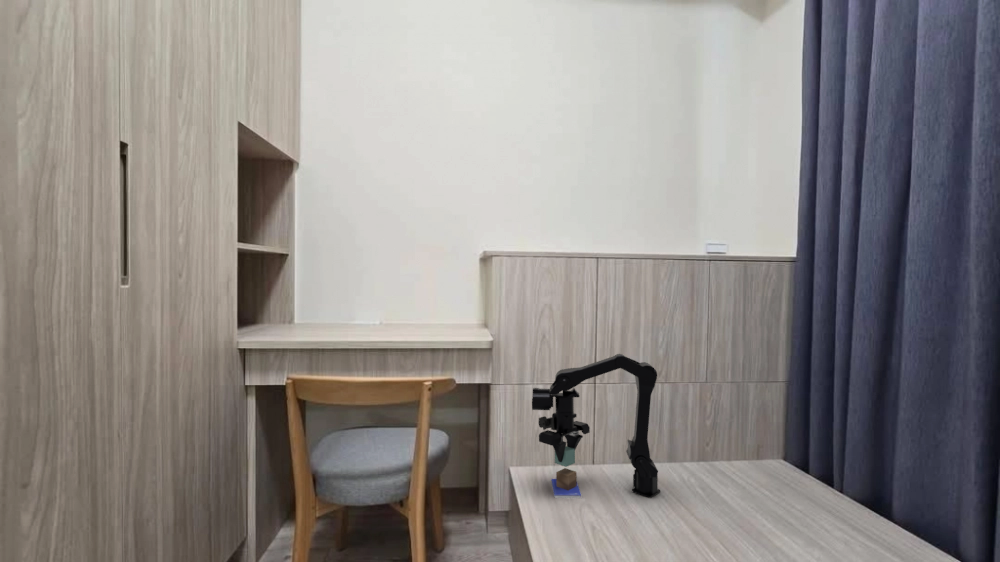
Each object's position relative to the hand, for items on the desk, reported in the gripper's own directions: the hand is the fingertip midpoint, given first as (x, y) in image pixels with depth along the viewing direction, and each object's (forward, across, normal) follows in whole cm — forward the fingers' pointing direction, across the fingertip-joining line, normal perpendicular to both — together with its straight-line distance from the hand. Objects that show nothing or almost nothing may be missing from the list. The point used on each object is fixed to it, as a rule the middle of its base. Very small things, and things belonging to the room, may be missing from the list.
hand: (565, 459), depth 152 cm
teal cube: (+1, 0, 0) cm, 1 cm away
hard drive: (+10, 0, 0) cm, 10 cm away
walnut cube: (+8, 0, 0) cm, 8 cm away
